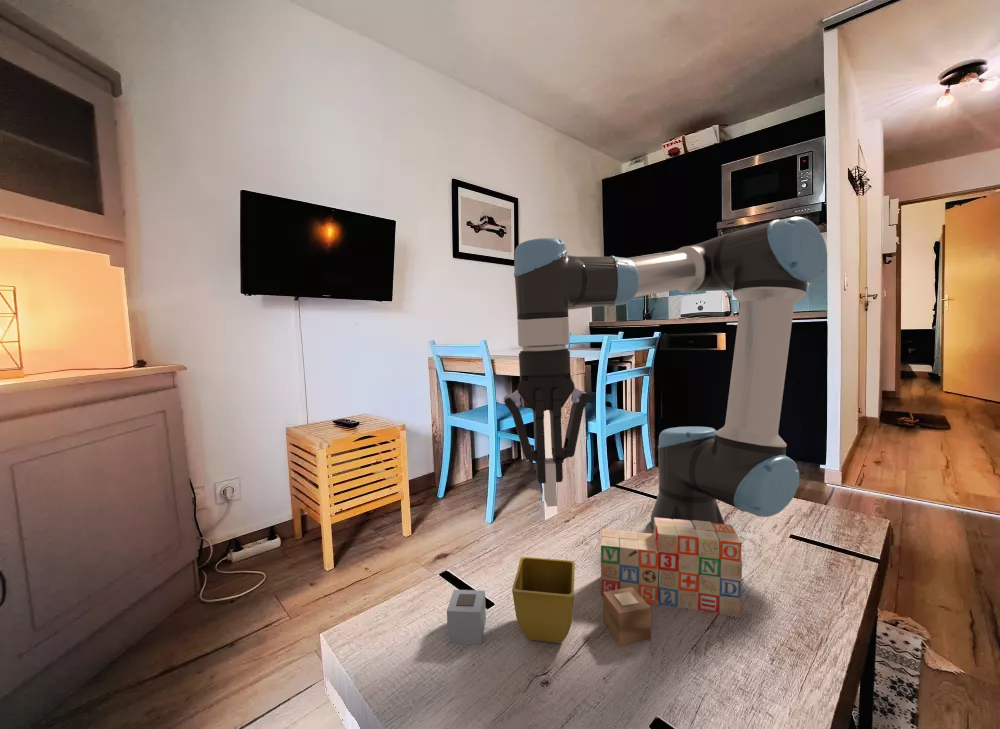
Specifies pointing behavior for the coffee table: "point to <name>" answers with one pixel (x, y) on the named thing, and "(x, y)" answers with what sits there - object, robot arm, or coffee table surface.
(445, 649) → the coffee table surface
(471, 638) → the grey cube marked
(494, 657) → the coffee table surface
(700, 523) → the stack of blocks
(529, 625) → the flower pot
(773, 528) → the coffee table surface
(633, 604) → the walnut cube marked
